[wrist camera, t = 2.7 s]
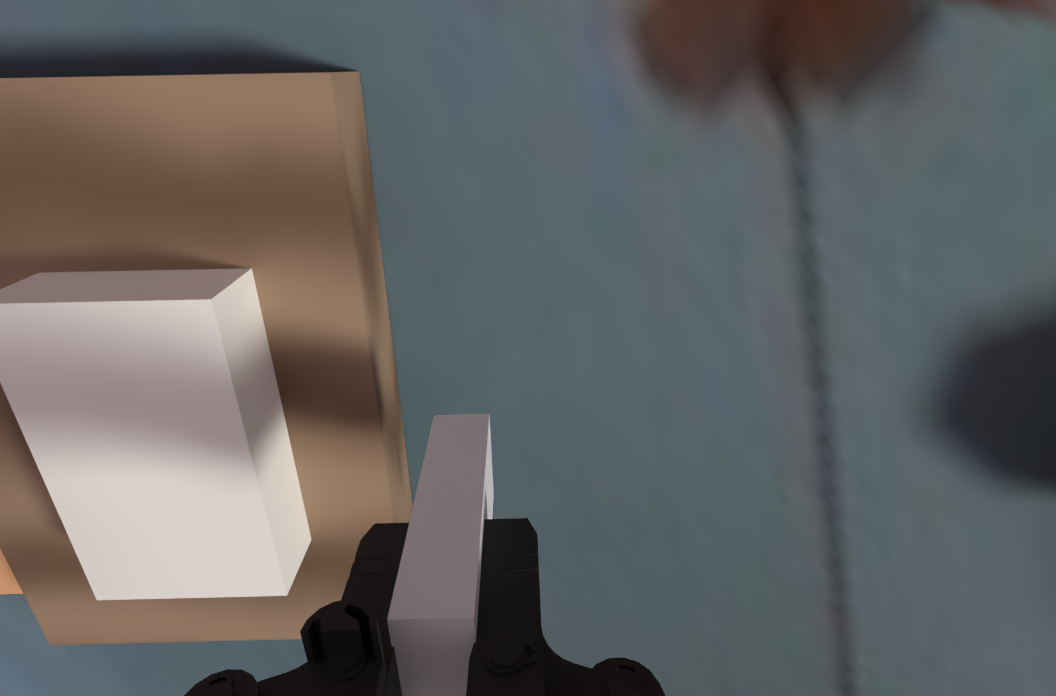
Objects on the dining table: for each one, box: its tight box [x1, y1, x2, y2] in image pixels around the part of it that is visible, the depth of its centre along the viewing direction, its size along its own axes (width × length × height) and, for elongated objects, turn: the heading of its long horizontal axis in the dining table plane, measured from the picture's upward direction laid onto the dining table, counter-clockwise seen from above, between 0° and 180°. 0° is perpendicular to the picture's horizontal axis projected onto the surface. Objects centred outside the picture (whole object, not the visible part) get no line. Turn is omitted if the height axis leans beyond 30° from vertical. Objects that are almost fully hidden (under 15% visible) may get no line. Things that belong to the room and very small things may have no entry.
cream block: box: [0, 268, 312, 600], centre depth 18 cm, size 10×6×2 cm, turn 1°
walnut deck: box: [0, 71, 413, 645], centre depth 21 cm, size 20×14×3 cm
